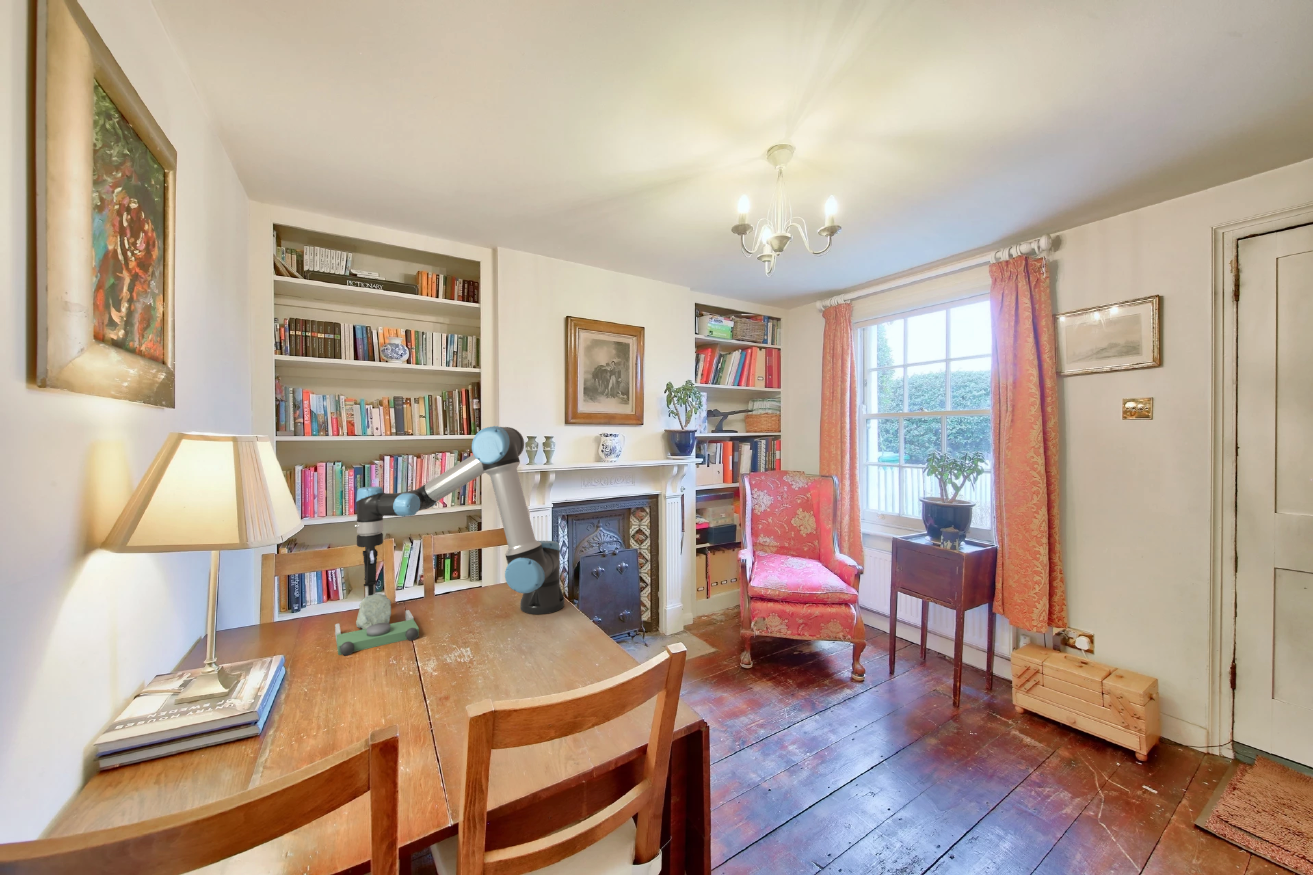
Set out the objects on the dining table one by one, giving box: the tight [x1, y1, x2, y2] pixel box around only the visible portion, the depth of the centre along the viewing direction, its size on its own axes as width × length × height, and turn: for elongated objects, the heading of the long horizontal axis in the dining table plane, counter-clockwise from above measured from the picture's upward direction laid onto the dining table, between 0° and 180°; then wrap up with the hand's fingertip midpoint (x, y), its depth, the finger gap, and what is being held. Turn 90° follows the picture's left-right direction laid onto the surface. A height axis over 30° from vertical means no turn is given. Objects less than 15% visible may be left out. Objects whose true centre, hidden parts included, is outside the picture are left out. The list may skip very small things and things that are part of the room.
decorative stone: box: [355, 593, 392, 630], centre depth 148 cm, size 13×11×10 cm
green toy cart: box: [334, 609, 420, 656], centre depth 141 cm, size 20×19×4 cm
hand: (370, 603), depth 158 cm, fingers closed
